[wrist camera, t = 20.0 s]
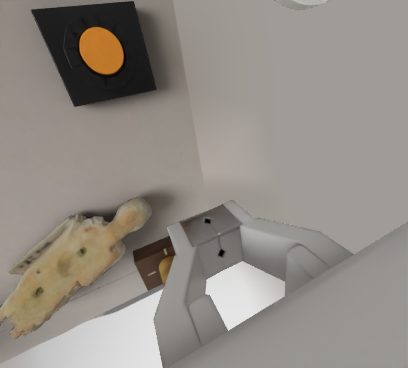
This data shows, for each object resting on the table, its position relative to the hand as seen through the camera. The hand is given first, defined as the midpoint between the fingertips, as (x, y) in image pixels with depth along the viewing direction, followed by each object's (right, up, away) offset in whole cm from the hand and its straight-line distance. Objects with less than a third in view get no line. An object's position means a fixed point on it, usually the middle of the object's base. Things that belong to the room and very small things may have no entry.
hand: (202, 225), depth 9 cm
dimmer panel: (-8, -12, +32) cm, 35 cm away
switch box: (-12, +17, +16) cm, 27 cm away
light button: (-11, +16, +13) cm, 23 cm away
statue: (-22, -9, +24) cm, 34 cm away
